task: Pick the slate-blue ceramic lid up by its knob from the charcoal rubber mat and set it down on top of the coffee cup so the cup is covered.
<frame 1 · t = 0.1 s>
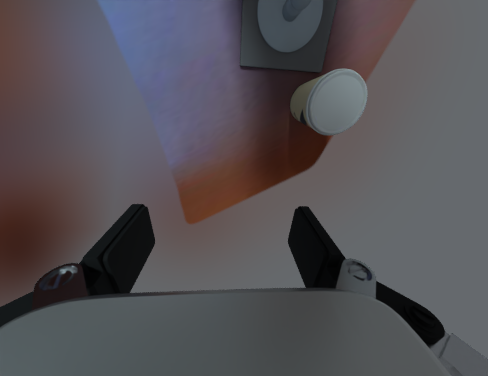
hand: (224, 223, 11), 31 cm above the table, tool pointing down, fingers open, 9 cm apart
mat: (288, 14, 30), on the table
coffee cup: (307, 102, 37), on the table
lid: (289, 12, 30), point 1 cm above the table, touching mat
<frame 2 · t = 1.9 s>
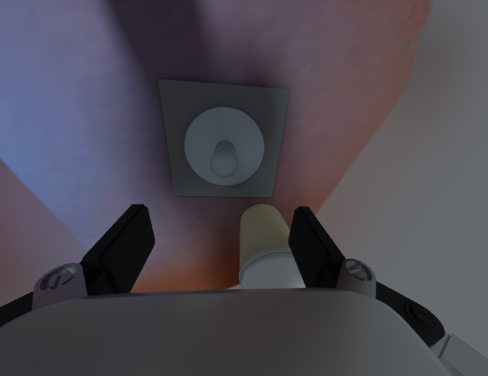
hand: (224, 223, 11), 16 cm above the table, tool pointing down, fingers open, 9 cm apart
mat: (225, 147, 25), on the table
coffee cup: (260, 220, 33), on the table
lid: (225, 148, 25), point 1 cm above the table, touching mat
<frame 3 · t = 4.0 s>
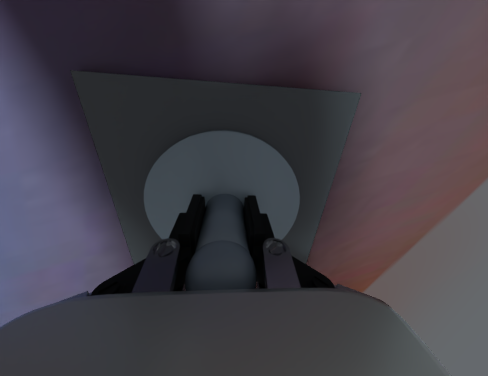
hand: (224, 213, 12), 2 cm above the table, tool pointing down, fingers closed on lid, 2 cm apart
mat: (225, 200, 14), on the table
lid: (225, 204, 13), point 1 cm above the table, touching gripper, mat
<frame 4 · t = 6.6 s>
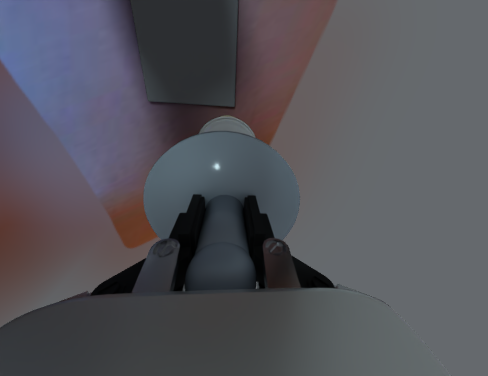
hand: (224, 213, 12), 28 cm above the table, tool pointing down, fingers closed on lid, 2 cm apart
mat: (189, 52, 30), on the table
coffee cup: (227, 134, 37), on the table
lid: (224, 205, 13), point 27 cm above the table, touching gripper
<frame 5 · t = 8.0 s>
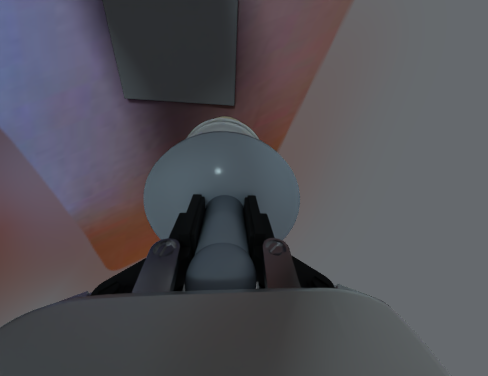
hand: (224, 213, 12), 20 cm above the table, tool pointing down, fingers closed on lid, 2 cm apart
mat: (175, 34, 23), on the table
coffee cup: (225, 140, 30), on the table
lid: (225, 205, 13), point 19 cm above the table, touching gripper
when the fingers open (15 cm above the table, at t = 9.2 s): lid drops 1 cm, resting on coffee cup.
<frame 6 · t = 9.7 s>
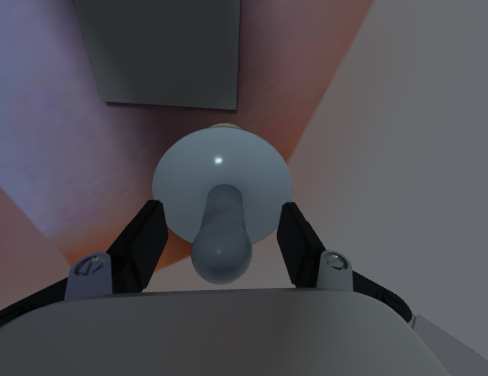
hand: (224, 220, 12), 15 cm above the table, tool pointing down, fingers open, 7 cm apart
mat: (163, 21, 18), on the table
lid: (225, 194, 15), point 12 cm above the table, touching coffee cup
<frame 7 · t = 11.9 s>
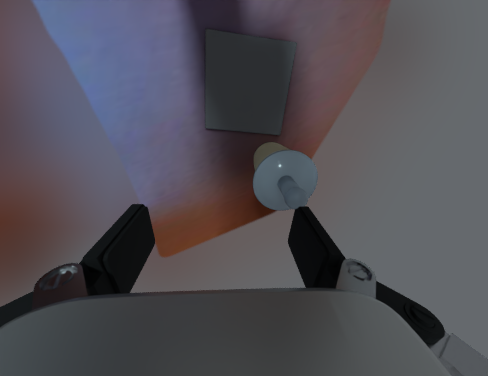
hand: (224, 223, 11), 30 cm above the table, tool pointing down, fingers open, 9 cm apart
mat: (247, 89, 34), on the table
coffee cup: (269, 158, 41), on the table, touching lid
lid: (284, 181, 30), point 12 cm above the table, touching coffee cup
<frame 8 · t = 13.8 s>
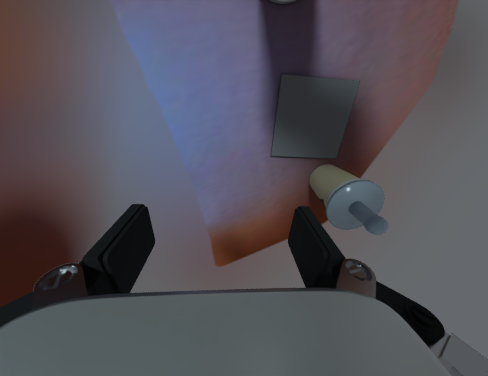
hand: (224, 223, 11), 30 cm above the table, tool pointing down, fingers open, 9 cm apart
mat: (311, 121, 38), on the table
coffee cup: (323, 177, 45), on the table, touching lid
lid: (353, 205, 34), point 12 cm above the table, touching coffee cup
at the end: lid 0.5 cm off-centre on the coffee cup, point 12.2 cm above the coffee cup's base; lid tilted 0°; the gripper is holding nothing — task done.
